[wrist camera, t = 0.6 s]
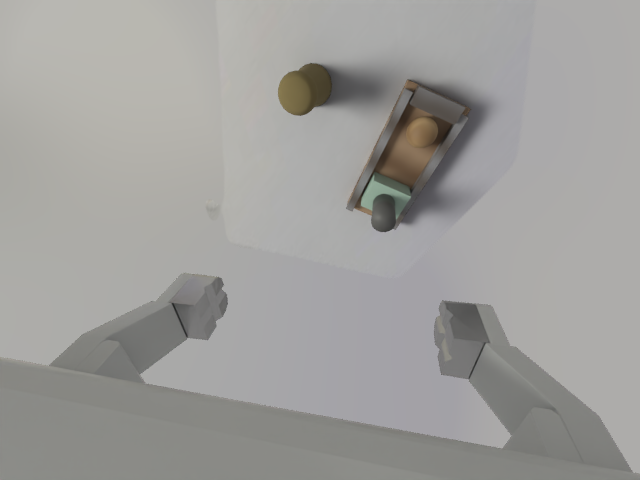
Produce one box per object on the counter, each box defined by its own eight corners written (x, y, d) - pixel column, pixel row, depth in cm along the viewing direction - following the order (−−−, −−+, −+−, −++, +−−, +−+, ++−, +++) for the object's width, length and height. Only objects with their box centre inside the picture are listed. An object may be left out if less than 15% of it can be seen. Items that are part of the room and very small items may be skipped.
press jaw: (374, 171, 48) (372, 196, 40) (409, 186, 49) (414, 214, 41) (362, 195, 51) (357, 223, 43) (395, 209, 52) (396, 240, 44)
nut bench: (407, 79, 42) (409, 82, 38) (468, 107, 42) (475, 112, 39) (347, 201, 54) (345, 211, 51) (395, 221, 55) (395, 232, 52)
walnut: (415, 108, 42) (417, 114, 39) (441, 120, 42) (446, 127, 39) (400, 136, 45) (401, 144, 41) (425, 148, 45) (428, 156, 41)
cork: (330, 61, 42) (315, 65, 33) (333, 105, 45) (320, 119, 36) (291, 65, 43) (267, 70, 34) (297, 108, 47) (276, 122, 38)
